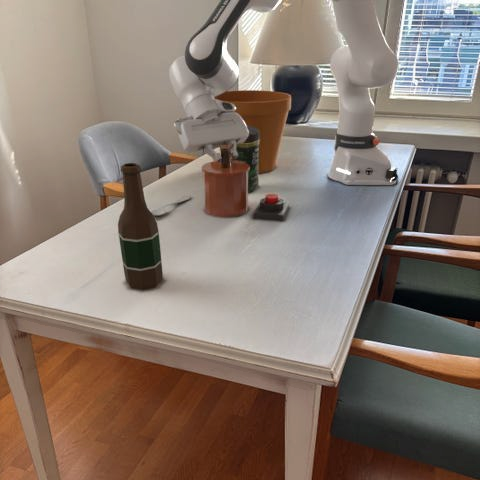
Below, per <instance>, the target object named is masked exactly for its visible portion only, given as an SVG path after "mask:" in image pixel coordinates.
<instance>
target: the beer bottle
mask: <svg viewBox="0 0 480 480" xmlns="http://www.w3.org/2000/svg"><path fill="white" fill-rule="evenodd" d="M120 172H121V173H122V184H123V185H122V186H123V198H124V201H123V205H124V206H123V209H122V211H121V213H120V214H119V218H118V221H117V231H118V239H119V247H120V253H121V260H122V267H123V274H124V278H125V282H126V283H127V285H128V286H129V288H130V289H134V290H141V291H145V290H150V289H154V288H157V287H158V286H159V285H160V284H161V283H163V280H164V274H163V262H162V253H161V251H162V250H161V242H160V233H159V226H158V222H157V219H156V218H155V216H154V215H153V214H152V213H151V211H150V209H149V208H148V206H147V202H146V198H145V193H144V186H143V181H142V175H141V172H142V167H141V165H140V164H139V163H135V162H128V163H124V164H122V165H120Z"/></svg>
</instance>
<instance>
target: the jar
mask: <svg viewBox="0 0 480 480" xmlns="http://www.w3.org/2000/svg"><path fill="white" fill-rule="evenodd" d="M202 172H203V171H202ZM203 194H204V195H203V197H204V211H205V212H206V213H207V214H208V215H209V216H213V217H216V218H217V217H218V218H233V217H238V216H242V215H245V214H246V213H247V212H248V209H249V192H248V171H247V172H246V173H243V174H238V175H229V176H221V175H212V174H208V173H205V172H203Z"/></svg>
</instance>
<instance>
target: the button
mask: <svg viewBox="0 0 480 480" xmlns="http://www.w3.org/2000/svg"><path fill="white" fill-rule="evenodd" d="M265 198H266V200H265V202H266V203H271V204H274V203H278V202H279V198H280V196H279V194H275V193H268V194H265Z"/></svg>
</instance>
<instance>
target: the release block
mask: <svg viewBox="0 0 480 480" xmlns="http://www.w3.org/2000/svg"><path fill="white" fill-rule="evenodd" d="M265 200H266V197H263V198H261V199H260V200H259V203H258V205H257V207H256V208H255V210H254V212H253V220H262V221H263V220H264V221H277V222H283V221H284V220H285V217H286V214H287V212H288V210H289V207H290V205H289V204H290V202H289V201H285V200H284V199H283V198H280V197H279V202H278V203H274V204H271V203H266V202H265Z"/></svg>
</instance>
